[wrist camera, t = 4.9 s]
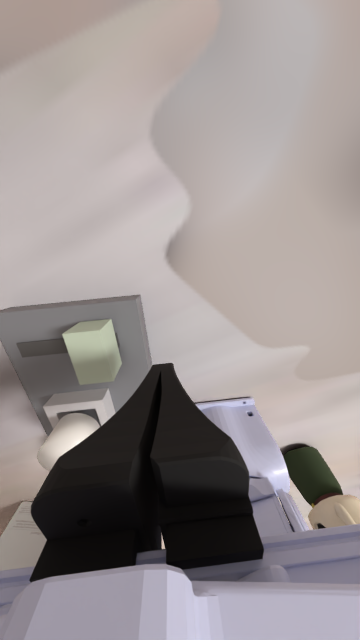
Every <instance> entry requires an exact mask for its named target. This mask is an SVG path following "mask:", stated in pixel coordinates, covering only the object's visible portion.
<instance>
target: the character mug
mask: <svg viewBox="0 0 360 640" xmlns="http://www.w3.org/2000/svg"><path fill="white" fill-rule="evenodd" d="M283 458H284V461H285V463H286V466H287V470H288V474H289V477H290V478H291V480H292V481H293V483H294V484H295V486H296V487H297V489H298V490H299V491H300V493H301V494H302V496H303V497H304V499H305V500H306V501H307V502H308V503H309V504H310V505H311V506H312V508H313V509H312V510H311V511H310V513H309V515H308V518H309V521H310V523H311V525H312V527H313V529H314V530H315V529H323V528H330V527H338V526H345V525H353V524H360V500H359V499H358V498H357V497H355V496H352V495H343V493H342V490H341V487H340V485H339V483H338V481H337V480H336V478H335V476H334V475H333V473H332V472H331V470H330V468H329V467H328V465H327V464H326V462H325V461H324V459H323V458H322V456H321V455H320V453H319V452H318V450H317V449H315V448H313V447H303V448H299V449H295V450H291V451H288V452H287V453H286V454H285V455H284V456H283Z"/></svg>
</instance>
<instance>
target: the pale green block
mask: <svg viewBox="0 0 360 640" xmlns="http://www.w3.org/2000/svg"><path fill="white" fill-rule="evenodd" d="M62 335H63V338H64V341H65V344H66V347H67V350H68V353H69V355H70V358H71V361H72V364H73V367H74V370H75V372H76V375H77V378H78V381H79V384H80V385H84V384H94V383H103V382H112V381H114V379H115V377H116V375H117V373H118V371H119V369H120V367H121V364H122V362H121V358H120V353H119V349H118V345H117V341H116V337H115V332H114V328H113V324H112V320H111V319H106V320H96V321H86V322H79V323H78V324H76V325H75V326H73V327H72V328H70V329H69V330H67V331H66V332H64V333H63V334H62Z"/></svg>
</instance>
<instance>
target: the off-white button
mask: <svg viewBox="0 0 360 640" xmlns="http://www.w3.org/2000/svg"><path fill="white" fill-rule="evenodd" d="M98 428H100V426H99V424H98V422H97V421H96V420H95V419H94V418H92V417H91V416H89V415H86V414H82V413H71V414H67V415H65V416H63V417H62V418H61V419H60V420H59V422H58V423H57V425H56V426H55V428H54V429H53V431H52V432H51V433H50V435H49V436H48V438H47V439H46V441H45V442H44V444H43V445H42V446H41V448H40V449H39V451H38V453H37V459H38V461H39V463H40V464H41V465H42V466H43V467H44V468H45V469H47V470H49V471H51V469H52V467H53V466H54V464H55V463H56V461H57V459H58V458H59V457H60V456H61V455H63V454H64V453H66V452H67V451H69V450H70V449H72V448H73V447H74V446H76V445H77V444H79V443H80V442H82V441H83V440H84V439H86V438H87V437H88V436H90V435H91V434H92V433H93V432H95V431H96V430H97V429H98Z"/></svg>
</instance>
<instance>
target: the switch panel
mask: <svg viewBox="0 0 360 640" xmlns="http://www.w3.org/2000/svg"><path fill="white" fill-rule="evenodd" d="M106 319H111V320H112V324H113V328H114V332H115V337H116V341H117V345H118V349H119V353H120V358H121V362H122V364H121V367H120V369H119V371H118V373H117V375H116V377H115V379H114V381H112V382H103V383H94V384H84V385H80V384H79V381H78V378H77V375H76V372H75V370H74V367H73V364H72V361H71V358H70V355H69V353H68V350H67V347H66V344H65V341H64V338H63V335H62V334H63V333H64V332H66V331H67V330H69V329H70V328H72V327H73V326H75V325H76V324H78V323H79V322H86V321H96V320H106ZM0 340H1V342H2V344H3V346H4V348H5V350H6V352H7V354H8V356H9V358H10V360H11V363H12V365H13V367H14V369H15V371H16V373H17V375H18V377H19V379H20V381H21V383H22V385H23V387H24V389H25V391H26V393H27V395H28V397H29V399H30V401H31V403H32V405H33V407H34V409H35V411H36V413H37V416H38V418H39V420H40V422H41V424H42V426H43V428H44V430H45V432H46V434H47V436H49V435H50V433H51V432H52V431H53V429H54V428H55V426H56V425H57V423H58V422H59V420H60V419H61V418H62V417H63V416H65V415H67V414H71V413H82V414H86V415H89V416H91V417H92V418H94V419H95V420H96V421H97V422H98V424H99V426H100V427H101V426H102V425H103V424H104V423H105V422H107V421H108V420H109V419H110V418H111V417H112V416H113V415H114V414H115V413H116V412H117V411H118V410H119V409H120V408H121V407H122V406H123V405H124V404H125V403H126V402H127V401H128V399H129V398H130V397H131V396H132V395H133V393H134V392H135V391H136V390H137V388H138V387H139V386H140V384H141V383H142V381H143V380H144V378H145V377H146V375H147V374H148V372H149V370H150V369H151V367H152V361H151V356H150V350H149V344H148V338H147V332H146V326H145V320H144V314H143V308H142V302H141V296H140V295H132V296H122V297H112V298H102V299H91V300H81V301H71V302H61V303H51V304H41V305H30V306H20V307H11V308H7V309H4V310H1V311H0Z"/></svg>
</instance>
